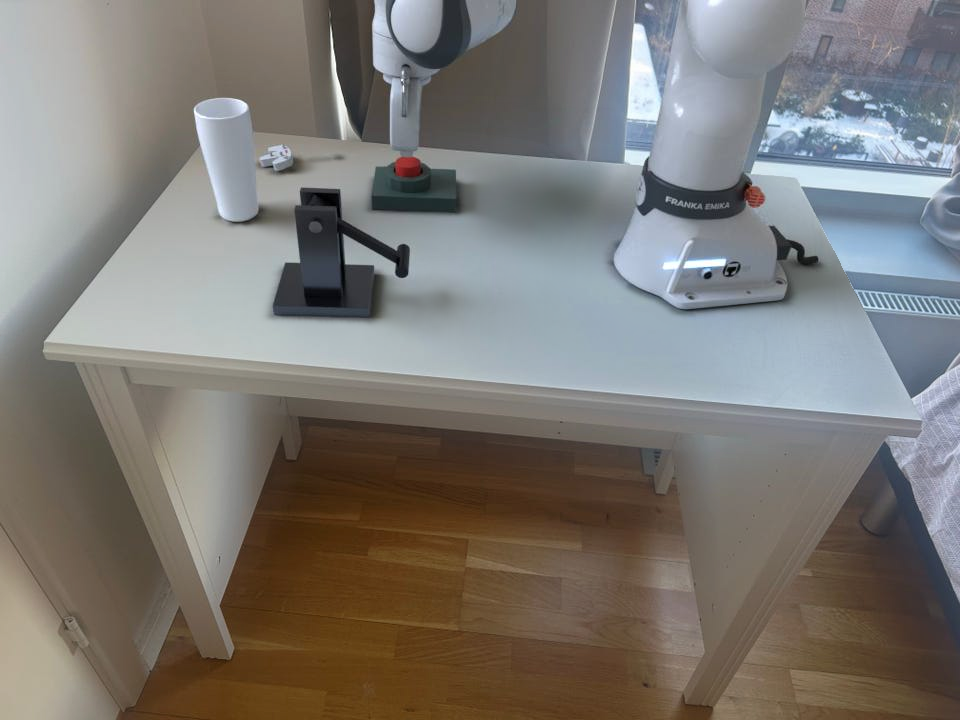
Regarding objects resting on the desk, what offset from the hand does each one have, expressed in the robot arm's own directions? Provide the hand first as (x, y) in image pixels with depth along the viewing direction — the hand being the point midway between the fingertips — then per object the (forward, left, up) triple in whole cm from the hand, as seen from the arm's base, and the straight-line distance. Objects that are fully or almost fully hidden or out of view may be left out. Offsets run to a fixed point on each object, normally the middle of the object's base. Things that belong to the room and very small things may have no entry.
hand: (406, 152), depth 105 cm
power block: (-1, 0, -7) cm, 7 cm away
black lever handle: (+5, +25, 0) cm, 26 cm away
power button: (0, 0, -3) cm, 3 cm away
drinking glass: (+23, +7, -7) cm, 25 cm away
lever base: (+9, +25, -7) cm, 27 cm away
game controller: (+17, -9, -7) cm, 20 cm away
